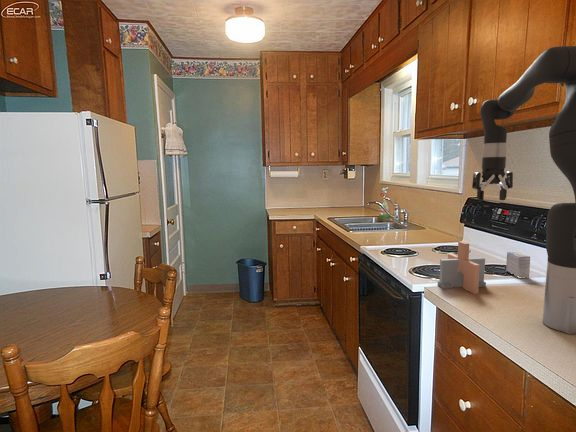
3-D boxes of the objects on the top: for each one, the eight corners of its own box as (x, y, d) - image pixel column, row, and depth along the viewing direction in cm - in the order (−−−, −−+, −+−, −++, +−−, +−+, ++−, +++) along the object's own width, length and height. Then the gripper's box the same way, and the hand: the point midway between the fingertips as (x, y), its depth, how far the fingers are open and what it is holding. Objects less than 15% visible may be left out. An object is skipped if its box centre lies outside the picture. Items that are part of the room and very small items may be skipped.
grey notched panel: (478, 282, 130) (480, 256, 129) (485, 286, 126) (487, 259, 125) (437, 285, 129) (438, 258, 127) (443, 288, 125) (444, 261, 123)
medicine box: (529, 278, 134) (531, 256, 133) (517, 278, 134) (519, 256, 133) (516, 272, 142) (518, 251, 141) (505, 272, 142) (506, 251, 141)
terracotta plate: (478, 293, 120) (480, 247, 118) (473, 293, 120) (476, 247, 117) (450, 278, 135) (452, 238, 133) (446, 279, 135) (448, 238, 133)
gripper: (482, 156, 124) (479, 202, 126) (520, 155, 125) (516, 200, 128) (469, 156, 131) (467, 200, 134) (505, 156, 133) (502, 199, 135)
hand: (491, 200), depth 131 cm, fingers open, 8 cm apart
